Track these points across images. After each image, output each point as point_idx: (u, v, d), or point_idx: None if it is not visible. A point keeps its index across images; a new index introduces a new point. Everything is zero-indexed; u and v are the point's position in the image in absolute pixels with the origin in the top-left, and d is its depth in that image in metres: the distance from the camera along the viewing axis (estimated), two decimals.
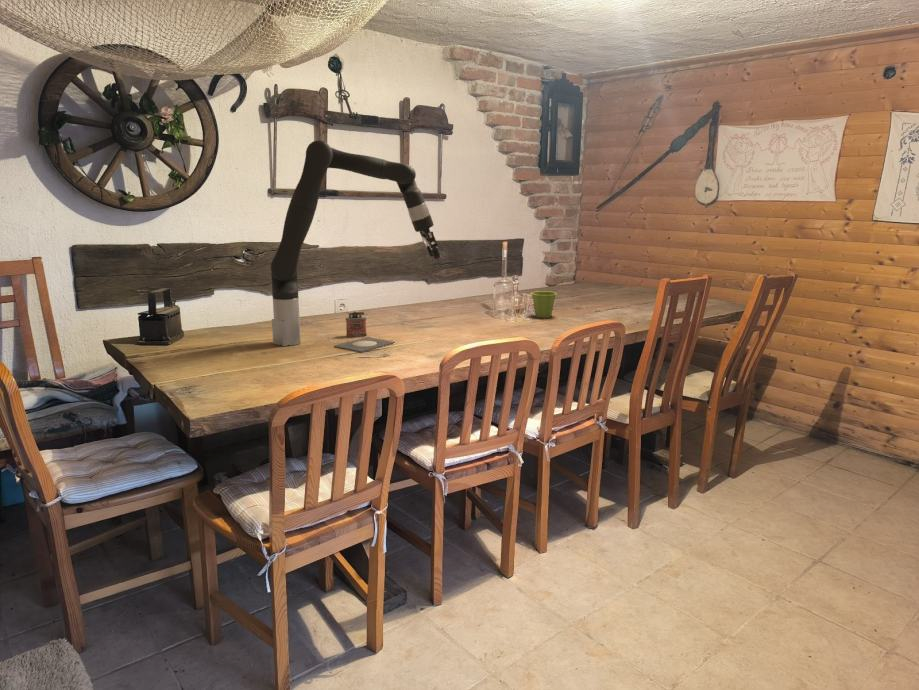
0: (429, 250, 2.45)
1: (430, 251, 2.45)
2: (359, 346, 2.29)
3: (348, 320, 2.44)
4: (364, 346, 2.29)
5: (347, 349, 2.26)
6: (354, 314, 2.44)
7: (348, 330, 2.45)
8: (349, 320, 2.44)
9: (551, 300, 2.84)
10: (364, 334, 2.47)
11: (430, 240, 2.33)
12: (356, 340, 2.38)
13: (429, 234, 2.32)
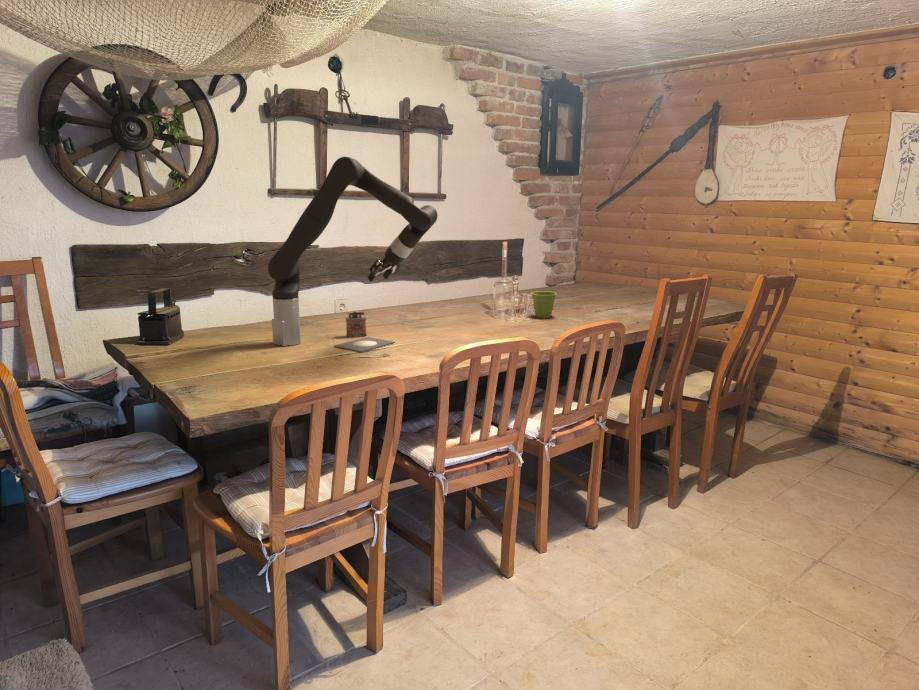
0: (386, 272, 2.37)
1: (386, 273, 2.38)
2: (359, 346, 2.29)
3: (348, 320, 2.44)
4: (364, 346, 2.29)
5: (347, 349, 2.26)
6: (354, 314, 2.44)
7: (348, 330, 2.45)
8: (349, 320, 2.44)
9: (551, 300, 2.84)
10: (364, 334, 2.47)
11: (373, 265, 2.26)
12: (356, 340, 2.38)
13: (377, 262, 2.25)
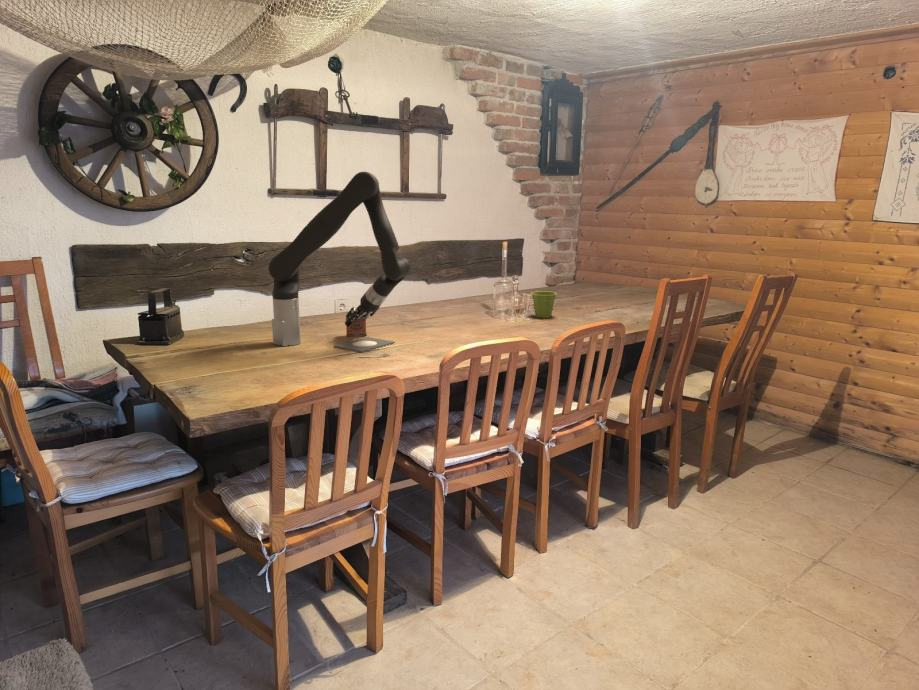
0: None
1: None
2: (359, 346, 2.29)
3: None
4: (364, 346, 2.29)
5: (347, 349, 2.26)
6: None
7: (348, 330, 2.45)
8: None
9: (551, 300, 2.84)
10: (364, 334, 2.47)
11: (349, 313, 2.38)
12: (356, 340, 2.38)
13: (352, 310, 2.36)
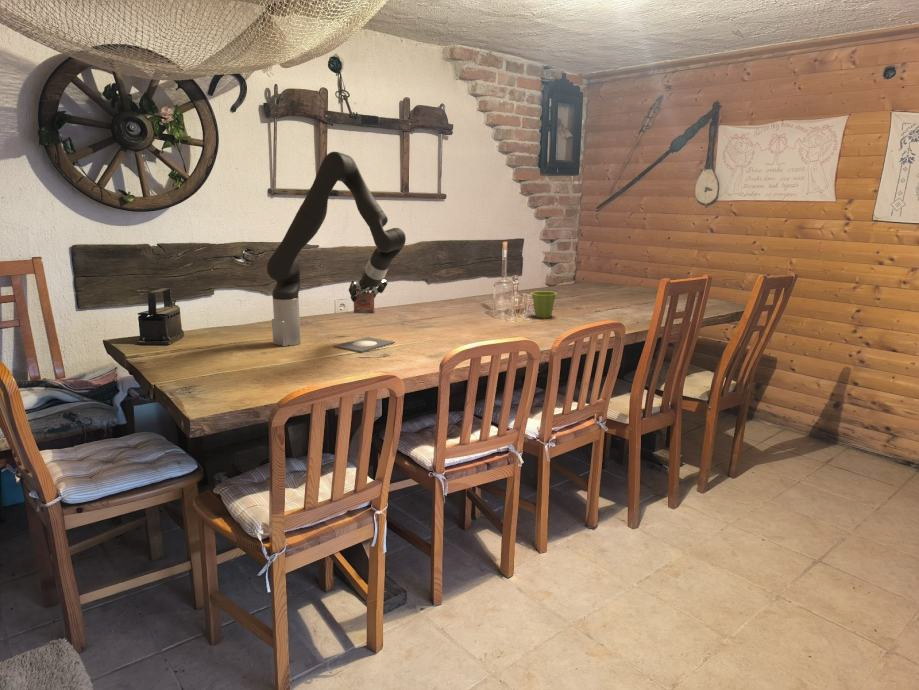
0: None
1: None
2: (359, 346, 2.29)
3: None
4: (364, 346, 2.29)
5: (347, 349, 2.26)
6: (361, 289, 2.33)
7: (355, 305, 2.34)
8: None
9: (551, 300, 2.84)
10: (371, 311, 2.34)
11: (350, 286, 2.27)
12: (356, 340, 2.38)
13: (352, 283, 2.25)
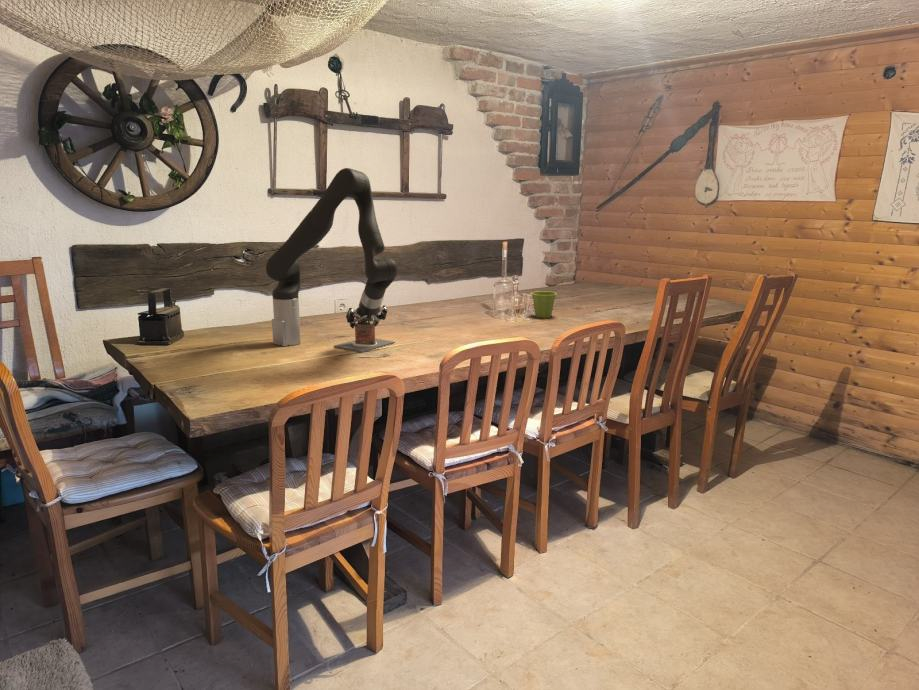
0: (374, 319, 2.32)
1: (374, 320, 2.33)
2: (359, 346, 2.29)
3: (355, 325, 2.31)
4: (364, 346, 2.29)
5: (347, 349, 2.26)
6: (361, 320, 2.30)
7: (356, 336, 2.32)
8: (356, 326, 2.31)
9: (551, 300, 2.84)
10: (371, 342, 2.31)
11: (347, 313, 2.24)
12: None
13: (349, 311, 2.22)
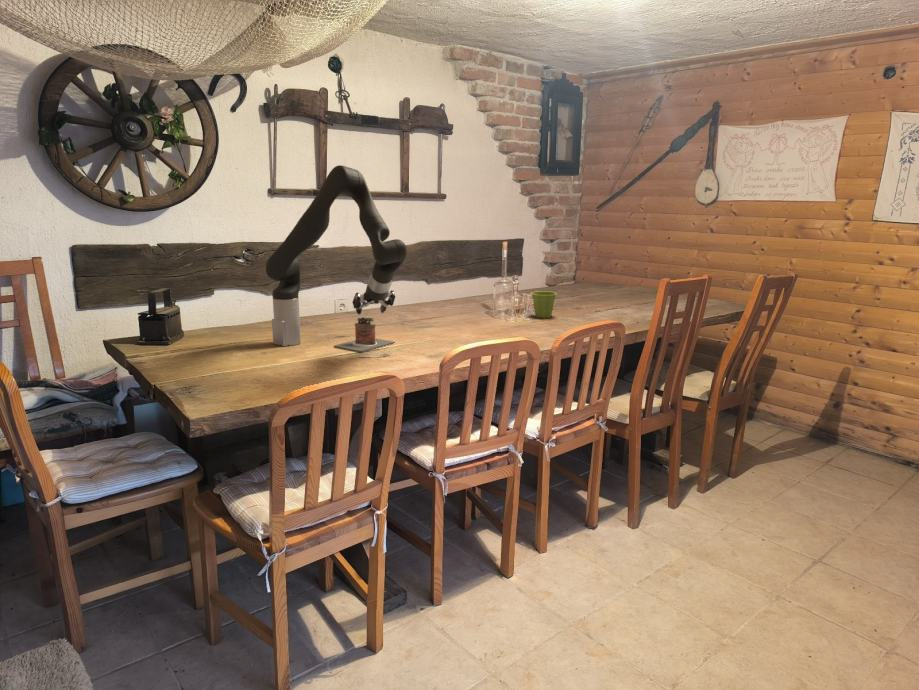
0: (381, 305, 2.23)
1: (381, 306, 2.24)
2: (359, 346, 2.29)
3: (356, 325, 2.31)
4: (364, 346, 2.29)
5: (347, 349, 2.26)
6: (362, 320, 2.30)
7: (356, 336, 2.32)
8: (356, 325, 2.31)
9: (551, 300, 2.84)
10: (371, 342, 2.31)
11: (354, 298, 2.15)
12: None
13: (356, 296, 2.13)
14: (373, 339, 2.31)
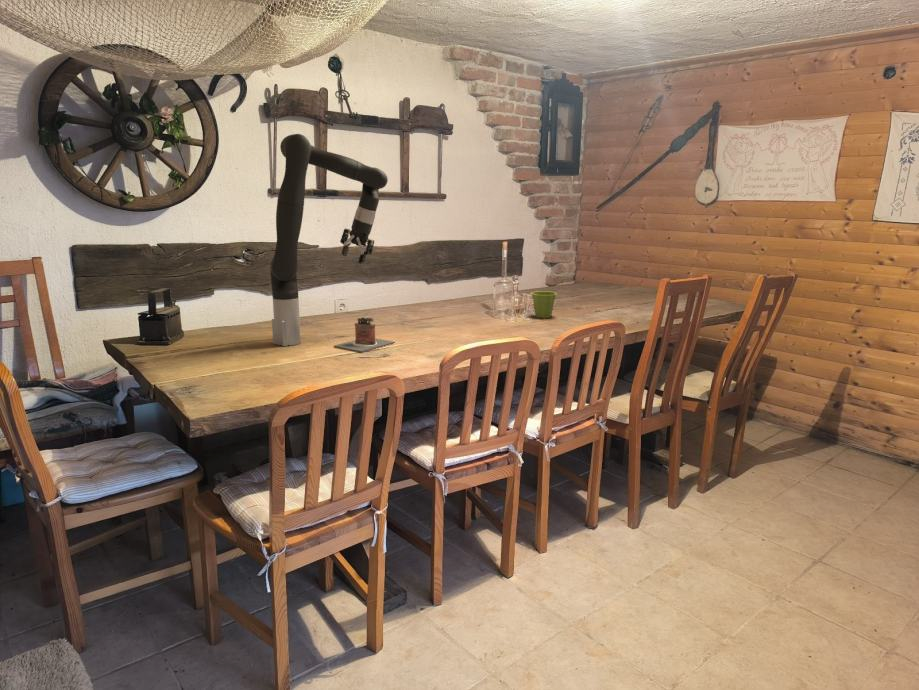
0: (345, 250, 2.46)
1: (345, 251, 2.46)
2: (359, 346, 2.29)
3: (356, 325, 2.31)
4: (364, 346, 2.29)
5: (347, 349, 2.26)
6: (362, 320, 2.30)
7: (356, 336, 2.32)
8: (356, 325, 2.31)
9: (551, 300, 2.84)
10: (371, 342, 2.31)
11: (370, 247, 2.40)
12: None
13: (372, 241, 2.40)
14: (373, 339, 2.31)
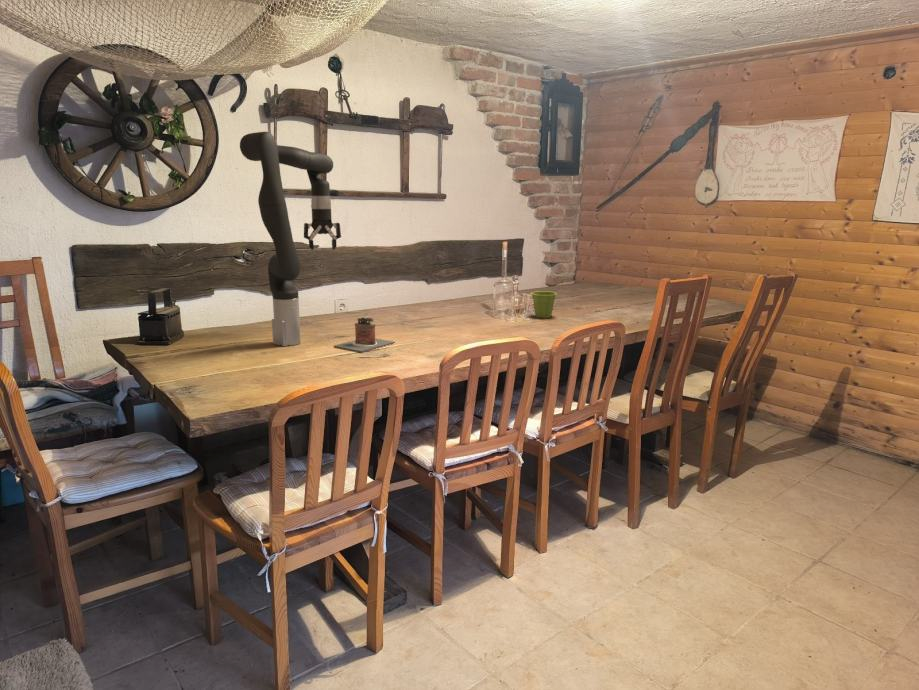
0: None
1: None
2: (359, 346, 2.29)
3: (356, 325, 2.31)
4: (364, 346, 2.29)
5: (347, 349, 2.26)
6: (362, 320, 2.30)
7: (356, 336, 2.32)
8: (356, 325, 2.31)
9: (551, 300, 2.84)
10: (371, 342, 2.31)
11: None
12: None
13: None
14: (373, 339, 2.31)
